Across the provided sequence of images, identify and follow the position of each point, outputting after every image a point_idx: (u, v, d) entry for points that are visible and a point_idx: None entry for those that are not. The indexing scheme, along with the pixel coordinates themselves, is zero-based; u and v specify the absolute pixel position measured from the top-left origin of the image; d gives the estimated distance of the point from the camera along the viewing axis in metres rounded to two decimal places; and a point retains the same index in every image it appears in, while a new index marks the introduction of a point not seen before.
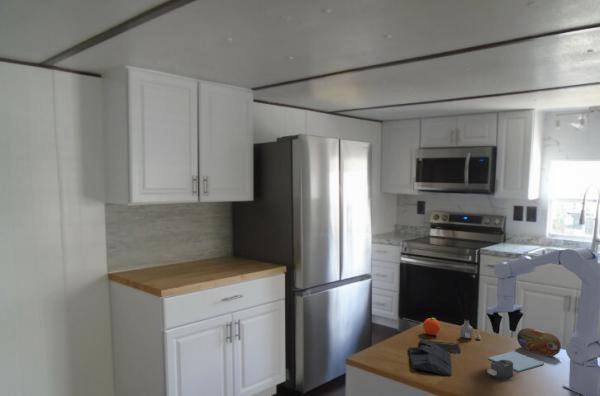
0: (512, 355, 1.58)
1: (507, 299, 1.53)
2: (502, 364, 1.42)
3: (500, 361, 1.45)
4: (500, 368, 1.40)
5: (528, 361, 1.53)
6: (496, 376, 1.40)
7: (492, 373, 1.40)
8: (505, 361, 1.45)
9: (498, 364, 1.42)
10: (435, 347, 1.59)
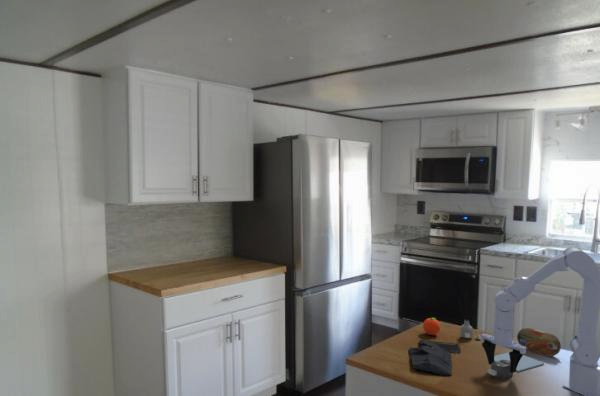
0: None
1: (495, 330, 1.42)
2: (502, 364, 1.42)
3: (500, 361, 1.45)
4: (500, 368, 1.40)
5: (528, 361, 1.53)
6: (496, 376, 1.40)
7: (492, 373, 1.40)
8: (505, 361, 1.45)
9: (498, 364, 1.42)
10: (435, 347, 1.59)
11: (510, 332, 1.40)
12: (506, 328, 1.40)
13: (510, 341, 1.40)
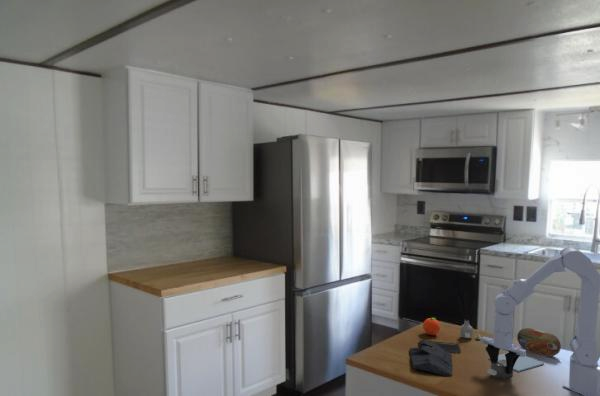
0: None
1: (495, 333, 1.42)
2: (502, 364, 1.42)
3: (500, 361, 1.45)
4: (500, 368, 1.40)
5: (528, 361, 1.53)
6: (496, 376, 1.40)
7: (492, 373, 1.40)
8: (505, 361, 1.45)
9: (498, 364, 1.42)
10: (436, 347, 1.59)
11: (510, 335, 1.40)
12: (506, 331, 1.40)
13: (510, 344, 1.40)
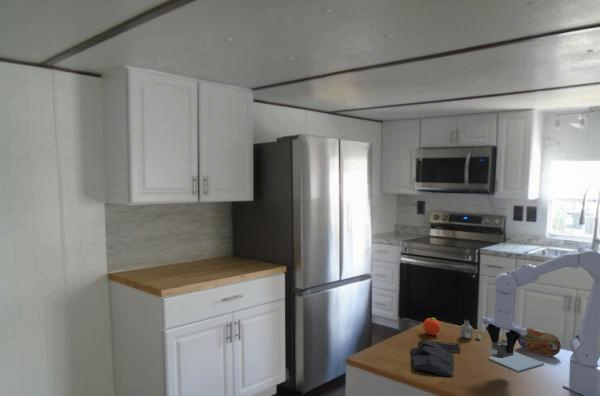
0: (512, 355, 1.58)
1: (495, 312, 1.42)
2: (503, 343, 1.42)
3: (501, 340, 1.44)
4: (501, 347, 1.40)
5: (528, 361, 1.53)
6: (497, 355, 1.40)
7: (493, 352, 1.40)
8: (506, 340, 1.44)
9: (498, 343, 1.42)
10: (437, 348, 1.58)
11: (511, 314, 1.40)
12: (507, 310, 1.40)
13: (511, 323, 1.40)
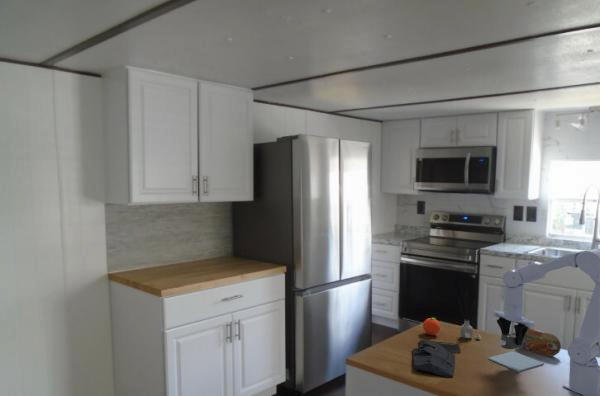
0: (512, 355, 1.58)
1: (505, 306, 1.50)
2: (512, 336, 1.49)
3: (511, 333, 1.52)
4: (509, 338, 1.48)
5: (528, 361, 1.53)
6: (505, 346, 1.48)
7: (501, 343, 1.48)
8: None
9: (507, 335, 1.49)
10: (439, 348, 1.58)
11: (519, 308, 1.47)
12: (512, 303, 1.47)
13: (519, 316, 1.47)
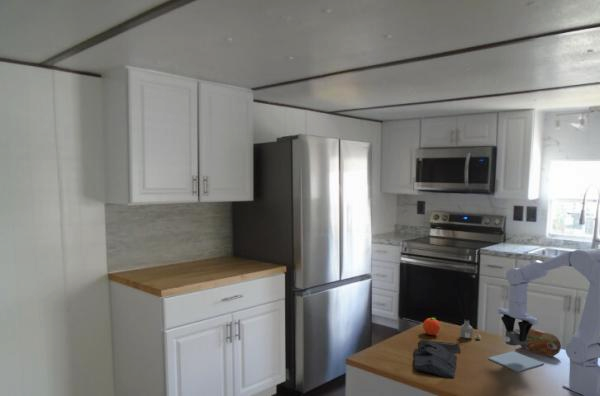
0: (512, 355, 1.58)
1: (509, 303, 1.53)
2: (516, 332, 1.53)
3: (515, 330, 1.55)
4: (513, 335, 1.51)
5: (528, 361, 1.53)
6: (510, 342, 1.52)
7: (505, 340, 1.51)
8: None
9: (512, 332, 1.53)
10: (441, 349, 1.57)
11: (523, 305, 1.51)
12: (515, 300, 1.51)
13: (523, 313, 1.51)
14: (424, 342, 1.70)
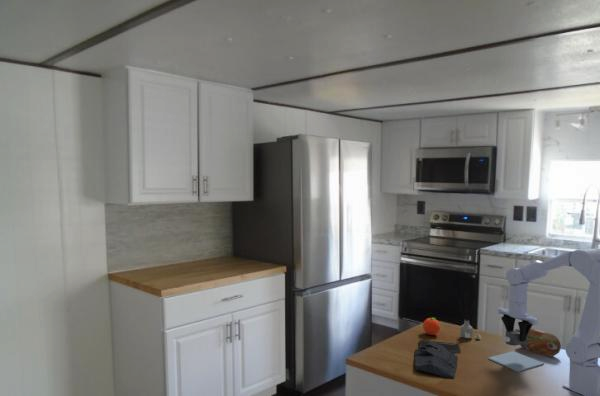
0: (512, 355, 1.58)
1: (509, 303, 1.53)
2: (516, 332, 1.53)
3: (515, 330, 1.55)
4: (513, 335, 1.51)
5: (528, 361, 1.53)
6: (510, 342, 1.52)
7: (505, 340, 1.51)
8: None
9: (512, 332, 1.53)
10: (441, 349, 1.57)
11: (523, 305, 1.51)
12: (515, 300, 1.51)
13: (523, 313, 1.51)
14: (424, 342, 1.70)
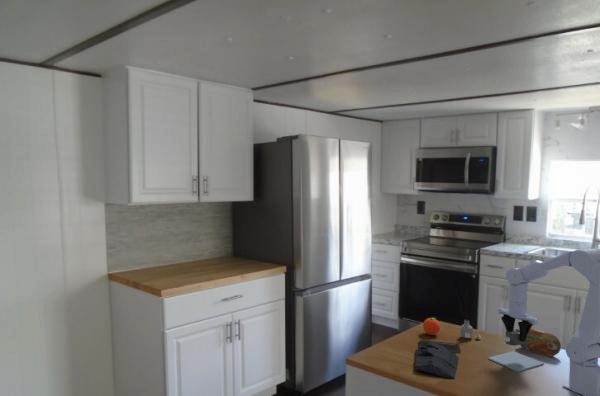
0: (512, 355, 1.58)
1: (509, 303, 1.53)
2: (516, 332, 1.53)
3: (515, 330, 1.55)
4: (513, 335, 1.51)
5: (528, 361, 1.53)
6: (510, 342, 1.52)
7: (505, 340, 1.51)
8: None
9: (512, 332, 1.53)
10: (442, 349, 1.57)
11: (523, 305, 1.51)
12: (515, 300, 1.51)
13: (523, 313, 1.51)
14: (424, 342, 1.70)
